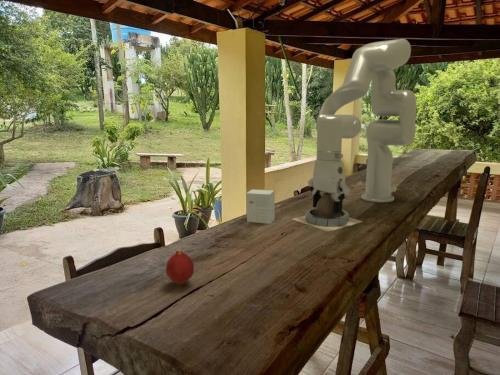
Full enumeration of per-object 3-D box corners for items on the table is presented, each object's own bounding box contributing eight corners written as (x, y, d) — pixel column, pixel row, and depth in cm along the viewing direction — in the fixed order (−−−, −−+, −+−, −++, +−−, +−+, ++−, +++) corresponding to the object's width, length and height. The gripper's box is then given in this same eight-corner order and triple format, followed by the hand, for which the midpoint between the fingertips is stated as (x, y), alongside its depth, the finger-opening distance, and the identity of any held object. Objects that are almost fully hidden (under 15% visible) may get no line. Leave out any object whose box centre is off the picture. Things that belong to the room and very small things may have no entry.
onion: (169, 278, 79) (166, 244, 77) (195, 277, 79) (193, 243, 78) (165, 291, 73) (162, 255, 71) (193, 290, 74) (191, 254, 72)
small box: (274, 221, 118) (274, 190, 116) (270, 226, 113) (270, 194, 111) (252, 219, 121) (251, 188, 119) (246, 224, 116) (246, 192, 114)
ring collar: (325, 212, 125) (326, 205, 125) (356, 221, 114) (357, 213, 114) (297, 219, 118) (297, 211, 117) (327, 229, 107) (327, 221, 106)
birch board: (325, 212, 127) (325, 210, 127) (362, 223, 114) (362, 221, 114) (291, 221, 118) (291, 218, 118) (327, 234, 105) (327, 231, 105)
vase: (337, 223, 112) (338, 196, 110) (315, 222, 114) (315, 195, 112) (336, 217, 119) (337, 191, 117) (315, 216, 120) (316, 190, 118)
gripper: (359, 157, 107) (356, 213, 110) (317, 152, 121) (316, 202, 124) (342, 160, 102) (339, 218, 106) (300, 154, 116) (300, 206, 120)
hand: (327, 209), depth 115 cm, fingers open, 8 cm apart
